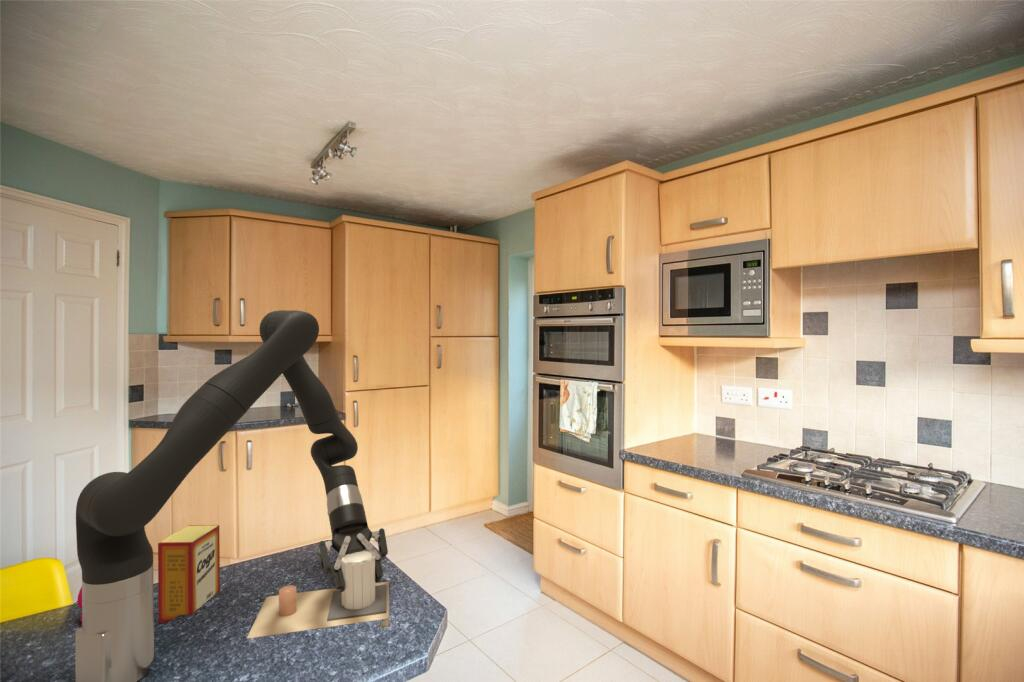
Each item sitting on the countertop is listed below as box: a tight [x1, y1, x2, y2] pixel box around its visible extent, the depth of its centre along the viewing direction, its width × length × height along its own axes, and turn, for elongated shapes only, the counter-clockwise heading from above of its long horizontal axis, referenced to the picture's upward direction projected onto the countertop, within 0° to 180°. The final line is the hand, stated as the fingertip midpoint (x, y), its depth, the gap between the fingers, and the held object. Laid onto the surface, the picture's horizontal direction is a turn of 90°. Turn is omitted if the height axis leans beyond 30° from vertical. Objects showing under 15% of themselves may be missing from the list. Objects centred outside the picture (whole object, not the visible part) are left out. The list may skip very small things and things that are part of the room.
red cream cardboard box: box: [157, 524, 221, 623], centre depth 101 cm, size 10×6×16 cm
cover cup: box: [340, 550, 376, 609], centre depth 100 cm, size 6×6×9 cm
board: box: [246, 581, 390, 640], centre depth 98 cm, size 25×15×2 cm, turn 104°
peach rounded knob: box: [278, 584, 297, 616], centre depth 97 cm, size 3×3×4 cm
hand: (360, 585), depth 99 cm, fingers closed on cover cup, 6 cm apart
